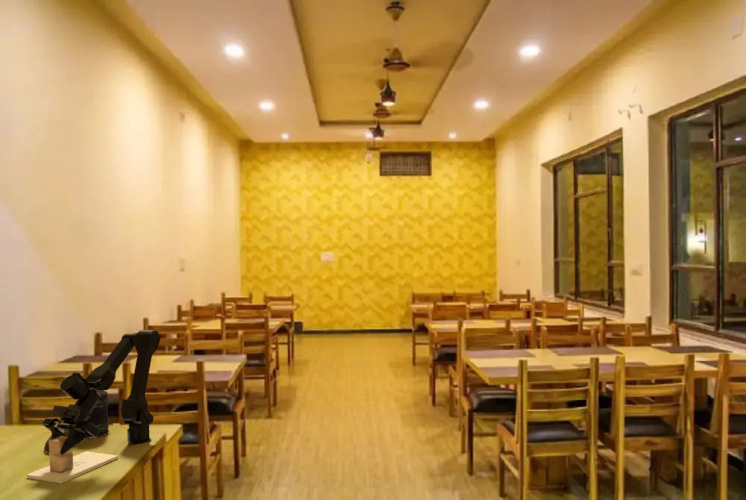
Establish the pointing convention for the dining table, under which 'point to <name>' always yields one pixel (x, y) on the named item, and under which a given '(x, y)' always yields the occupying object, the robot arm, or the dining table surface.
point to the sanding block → (59, 455)
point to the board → (74, 467)
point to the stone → (50, 439)
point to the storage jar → (100, 415)
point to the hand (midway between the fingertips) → (55, 453)
